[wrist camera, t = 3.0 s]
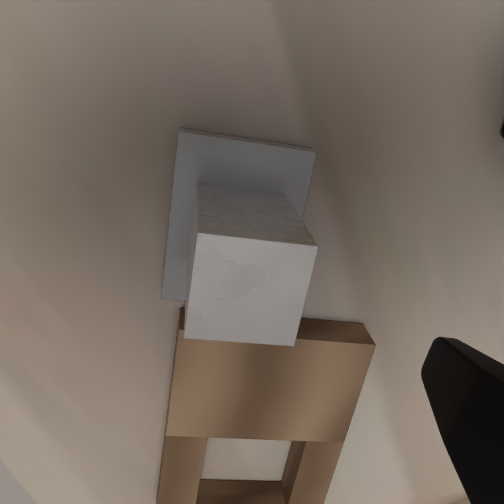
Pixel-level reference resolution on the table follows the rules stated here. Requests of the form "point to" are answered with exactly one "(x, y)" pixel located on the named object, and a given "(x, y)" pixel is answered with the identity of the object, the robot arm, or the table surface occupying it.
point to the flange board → (263, 410)
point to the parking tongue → (230, 174)
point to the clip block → (246, 266)
